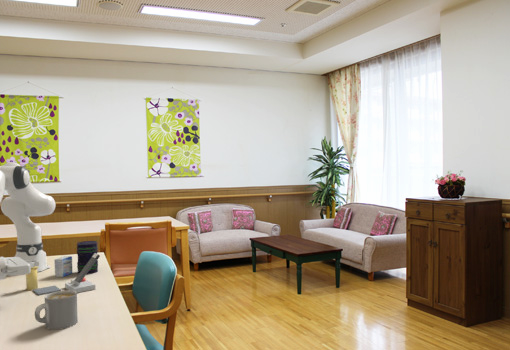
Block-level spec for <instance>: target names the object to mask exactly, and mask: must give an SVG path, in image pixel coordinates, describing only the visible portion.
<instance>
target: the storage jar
mask: <svg viewBox="0 0 510 350" xmlns="http://www.w3.org/2000/svg"><path fill="white" fill-rule="evenodd" d="M98 249H99V247H98V241H97V240H85V241H79V242H78V241H77V242H76V255H77V262H76V267H77V275H79V273H80V272H81V271H82V269H83V268H84V267H85V265H86V264H87V263H88V261H89V260H90V259H91V258H92V256H93V255H94V253H96V254H99V252H98V251H99V250H98ZM98 268H99V259H98V260H97V261H96V262H95V264H94V265H93V266H92V268H91V269H90V270H89V272H88V273H87V274H86V275H92V274H96V273H98V272H99V269H98Z"/></svg>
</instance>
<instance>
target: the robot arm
mask: <svg viewBox="0 0 510 350" xmlns="http://www.w3.org/2000/svg"><path fill="white" fill-rule="evenodd" d="M30 175H31V174H30V171H29V169H27V167H25V166H22V165H20V164H19V163H17V162H14V161H10V162H9V161H8V162H6V163H5V164H3V165H0V209H1V212H2V214H3V215H4V216H6V217H8V218H9V219H10V220H11V222H12V223H13V224H14V226H15V230H16V237H17V243H16V249H15V250H16V253H15V255H14V256H10V257H4V256H0V281H2V280H5V279H6V278H7V276H13V277H15V276H22V275H23V276H24V275H26V274H29V273H31V268H32V267H36V266H38V268H37V273H39V272H42V271H45V270H47V269H49V268H51V265H50V264H47V263H48V262H47V261H48V259H47V253H46V251H44V250H43V249H44V248H43V247H44V244H43V243H44V242H42V228H41V226H40V225H39V224H37V223H35V222H33V221H32V220H31V219H30V217H44V216H48V215H52V214H53V213H54V211H55V209H56V205H57V204H56V201H55V199H54V197H53V196H51V195H48V194H45V193H43V192H41V191H40V190H39V189H37V188H36V187H34V186H33V184H32V182H31V179H30V178H31V177H30ZM5 191H6V192H7V193H8V196H6V197H4V193H5Z"/></svg>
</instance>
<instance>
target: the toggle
mask: <svg viewBox="0 0 510 350" xmlns="http://www.w3.org/2000/svg"><path fill="white" fill-rule="evenodd" d="M100 257H101V255H100V254H99V253H97V254H96V253H94V255H93V256H92V258H91V259H90V260H89V261H88V263H87V264H86V265H85V267H84V268H83V269H82V271H81V272H80V273H79V274H77V276H76V277H75V278H74V279H75V280H73V279H72V280H73V281H72V283H73V284H75V285H76V286H79V285H80V282H81V281H82V279H83V278H86V277H85V276H86V275H88V274H87V273H88V272H89V270H90V269H91V268H92V266H93V265H94V264H95V262H96V261H97V260H98V261H99V259H100Z"/></svg>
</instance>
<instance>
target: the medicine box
mask: <svg viewBox="0 0 510 350" xmlns="http://www.w3.org/2000/svg"><path fill="white" fill-rule="evenodd" d="M71 274H73V256H70V255H67V256H66V255H65V256H61V257H59V258H56V259H54V277H55V278H64V277H67V276H69V275H71Z"/></svg>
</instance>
